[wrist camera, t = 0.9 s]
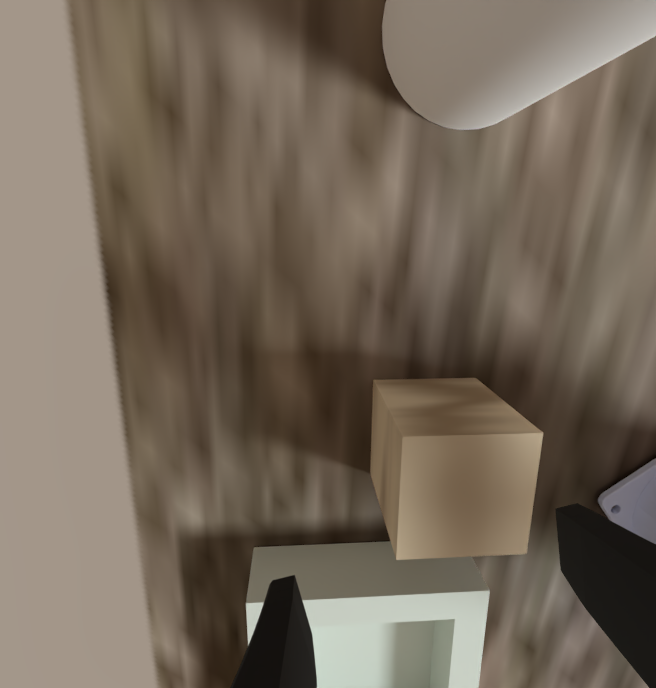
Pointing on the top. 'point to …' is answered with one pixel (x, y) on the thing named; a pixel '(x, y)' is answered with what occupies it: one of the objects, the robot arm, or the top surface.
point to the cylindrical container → (502, 51)
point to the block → (452, 468)
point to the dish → (381, 613)
